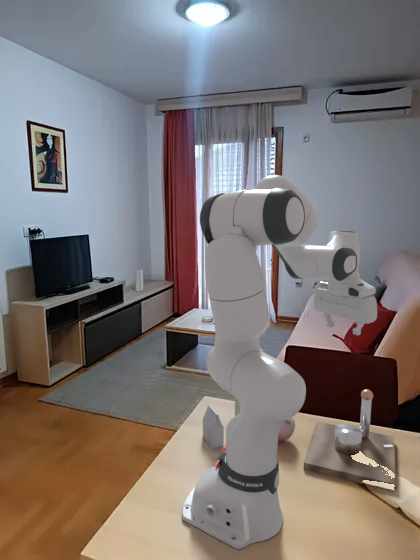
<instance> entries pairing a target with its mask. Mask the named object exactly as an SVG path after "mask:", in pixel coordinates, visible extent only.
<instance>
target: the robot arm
mask: <svg viewBox="0 0 420 560" xmlns="http://www.w3.org/2000/svg"><path fill="white" fill-rule="evenodd" d="M318 218H319V217H318V214H317V211H316V208H315V207H314V205H313V204H312V202H311V201H310V200H309V199H308V197H307V195H306V194H304V193H303V192H302V190H300V188H299V187H297V185H295V184H294V183H292V181H290V180H289V179H287V177H285V176H282V175H279V174H272V175H268V176H265V177H263V178H261V179H260V180H259V181H258V182H257V183H256V184H255V185H254V187H253V189H242V190H241V189H240V190H239V189H238V190H235V191H231V192H226V193H225V192H224V193H223V192H220V193H218V194H215V195H213V196H210V197H209V198H207V199H206V200H205V201H204V203H203V204H202V206H201V210H200V213H199V224H200V225H199V226H200V230H201V232H202V235H203V236H204V239H205V241H206V243H207V246H206V249H205V253H204V254H205V256H204V257H205V258H204V261H205V262H204V267H205V269H204V270H205V277H206V278H205V279H206V288H207V292H208V298H209V302H210V303H209V304H210V309H211V313H212V318H213V324H214V336H215V337H214V345H213V346H212V347H211V349H210V350H209V352H208V354H207V357H206V363H205V364H206V370H207V372H208V374H209V376H210V377H211V378H212V380H213V381H214V382H215V383H216V384H217V385H218V386H219V387H220V388H221V389H223V390H224V391H225V392H227V393H228V394H230V396H233V397H234V398H235V397H236V398H237V399H238V401H239V404H240V413H239V414H238V415H236V416H235V415H234V416H233V417H232V418H231V419H230V420H229V421H228V422H227V425H226V428H225V443H224V446H222V448H221V453H220V454H219V456H218V458H217V461H216V463H215V465H214V466H211V467H209V468H208V469H207V470H205V471H204V472H203V473H202V475H201V476H200V477H199V479H198V481H197V482H196V485H195V486H194V487H193V488H192V489H191V490H190V492H189V494H188V495H187V497H186V498H185V500H184V503H183V506H182V511H181V512H182V513H181V515H182V519H183V521H184V522H186V523H187V524H189V525H192V526H194V527H195V528H198V529H199V530H201V531H203V532H205V533H206V534H207V535H211V536H212V537H214V538H216V539H218V540H220V541H221V542H223V543H226V544H227V545H229V546H231V547H233V548H235V549H239V550H240V549H243V548H244V549H245V548H246V547H248V546H249V545H251V544H254V543H258V542H263V541H266V540H269V539H271V538H273V537H274V536H275V535H277V533H278V532H279V531H280V530H281V528H282V526H283V523H284V518H283V517H284V516H283V513H282V509H281V505H280V499H279V493H278V489H279V483H280V469H279V467H280V465H279V459H278V447H279V446H278V442H279V441H278V433H279V429H280V426H281V424H282V422H283V421H285V420H288V419H290V418H291V417H293V418H294V416H296V415H297V414H298V413H299V412H300V410H301V409H302V407H303V406H304V403H305V400H306V394H307V389H306V388H307V387H306V383H305V380H304V378H303V377H302V376H301V375H300V374H299V373H298V372H297V371H296V370H294V368H292V367H291V366H290V365H289V364H287V363H286V362H284V361H282V360H280V359H278V358H275V357H273V356H271V355H269V354H268V353H265V352H264V351H263V349H262V347H261V345H260V336H262V335H263V334H264V333H265V332H266V331H267V329H268V327H269V326H270V323H271V318H270V310H269V309H270V308H269V303H268V298H267V293H266V292H267V291H266V286H265V285H266V284H265V280H264V275H263V270H262V266H261V263H260V260H259V257H258V254H257V250H258V246H268V245H271V247H272V248H273V249H274V251H275V252H276V254H277V255H278V257H279V258H280V259H281V261H282V262H283V264H284V267H285V270H286V272H287V274H288V275H289V276H290V277H291V279H294V280H315V281H316V280H317V281H319V282H318V283H316V285H315V291H314V298H313V308H314V310H315V311H317V312H321V313H323V316H324V319H325V321H326V327H328V328H331V329H332V328H334V327H335V321H334V320H333V319H332V316H336V317H341V318H344V319H348V320H351V321H355V324H356V327H354V328H352V334H353V335H356V336H360V335H361V333H362V328H363V327H364V325H365V324H371V323H374V322H375V321H376V320H377V319H378V302H377V299H376V297H375V296H374V295H375V294H376V292H377V290H376V287H375V286H373V285H371V284H369V283H368V282H366V281H364V280H363V279H362V278H360V271H359V264H360V262H361V252H360V251H361V248H360V247H361V246H360V241H359V235H358V233H357V232H356V231H353V230H332V231H331V232H330V233H329V237H328V243H327V244H326V245H321V244H320V245H315V244H304V243H306V242H307V241H309V240H310V239H311V237H312V236H313V235H314V233H315V231H316V229H317V226H318ZM324 281H327V282H324Z"/></svg>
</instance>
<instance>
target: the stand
mask: <svg viewBox="0 0 420 560" xmlns="http://www.w3.org/2000/svg"><path fill="white" fill-rule="evenodd" d="M337 425H338V424H337ZM337 425H336V424H333V423H327V422H321V421H316V422H315V425H314V429H313V431H312V434H311V438H310V441H309V445H308V447H307V451H306V455H305V457H304V461H303V470H305V471H308V472H313V473H316V474H321V475H326V476H330V477H334V478H336V479H337V478H339V479H341V480H346V481H348V482H349V481H350V482H354V483H359V484H362V485H364V484H363V483H362V481H363V480H369V481H377V482H384V483H388V484H394V485H396V484H397V480H396V479H397V478H392V479H391V476H388V475H389V474H388V472H387V471H388V470H387V471H385V470H384V468H382V467H381V466H384V467H387V468H388V469H389V470H391V471H392V472H393V473H394V474H395V475H396V454H395V452H396V451H395V436H393V435H389V434H383V433H377V432H373V431H369V439H367V440H365V439H362V441H361V452H362V453H363V454H364V455H365V456H366V457H368V458H370V459H372V460H374V461H375V462H376V463H377V464H379V466H377V467H373V466H372V465H371V464H370V463H369V465H366V464H363V463H360V462H357V461H355V460H353V459H352V457H351V455H348V454H344V453H341V452H339V451H338V450H337V449H336V448H335V446H334V441H335V427H336V426H337ZM383 445H392V446H393V448H384V446H383ZM370 465H371V466H370ZM380 465H381V466H380ZM382 471H383V472H382ZM386 472H387V473H386ZM385 474H388V475H385ZM396 486H397V485H396Z"/></svg>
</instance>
